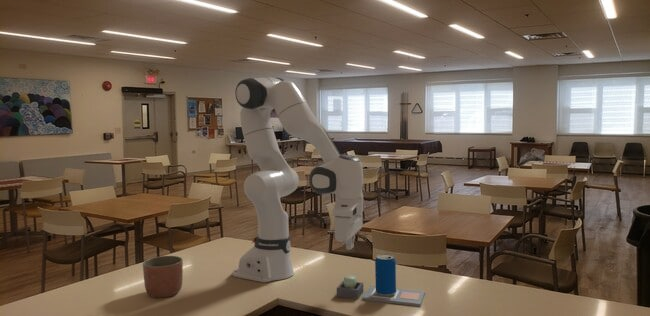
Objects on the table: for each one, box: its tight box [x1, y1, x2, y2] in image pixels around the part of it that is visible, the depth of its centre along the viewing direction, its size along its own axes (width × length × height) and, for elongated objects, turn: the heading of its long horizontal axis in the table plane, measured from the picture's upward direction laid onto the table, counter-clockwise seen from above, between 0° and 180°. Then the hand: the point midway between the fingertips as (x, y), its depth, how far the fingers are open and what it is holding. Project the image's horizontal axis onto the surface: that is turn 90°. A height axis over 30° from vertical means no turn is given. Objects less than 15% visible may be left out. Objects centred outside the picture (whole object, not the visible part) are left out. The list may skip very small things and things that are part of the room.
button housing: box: [336, 280, 364, 300], centre depth 154 cm, size 7×7×3 cm
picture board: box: [362, 285, 426, 307], centre depth 151 cm, size 18×11×1 cm, turn 71°
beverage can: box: [374, 253, 397, 296], centre depth 152 cm, size 6×6×12 cm
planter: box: [142, 255, 184, 299], centre depth 156 cm, size 12×12×11 cm
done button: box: [343, 275, 357, 289], centre depth 154 cm, size 4×4×4 cm
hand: (349, 248), depth 153 cm, fingers closed
